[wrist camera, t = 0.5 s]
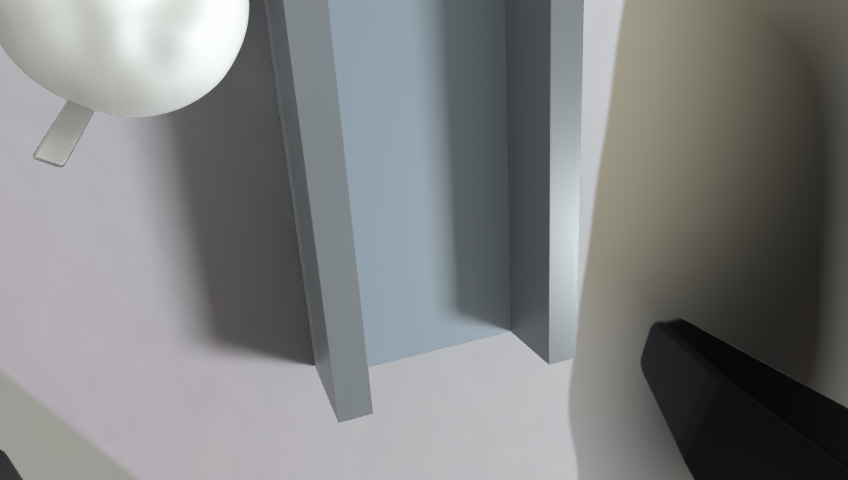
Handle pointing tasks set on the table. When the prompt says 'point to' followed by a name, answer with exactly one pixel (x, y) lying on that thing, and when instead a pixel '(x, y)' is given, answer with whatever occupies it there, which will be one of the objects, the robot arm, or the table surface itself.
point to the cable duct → (430, 175)
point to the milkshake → (120, 56)
